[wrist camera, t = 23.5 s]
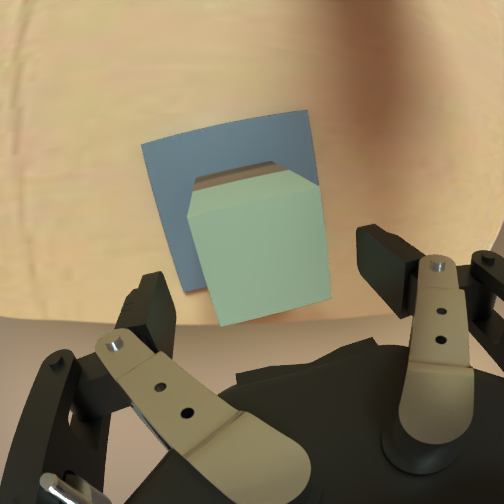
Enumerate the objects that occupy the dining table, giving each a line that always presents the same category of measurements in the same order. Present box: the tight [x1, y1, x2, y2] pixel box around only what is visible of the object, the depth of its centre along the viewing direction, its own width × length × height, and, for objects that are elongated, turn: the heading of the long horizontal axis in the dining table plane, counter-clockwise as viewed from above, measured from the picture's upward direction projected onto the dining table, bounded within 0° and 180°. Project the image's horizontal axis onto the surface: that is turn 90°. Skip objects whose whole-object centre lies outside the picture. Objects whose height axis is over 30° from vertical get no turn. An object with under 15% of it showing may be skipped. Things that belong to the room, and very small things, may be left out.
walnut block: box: [192, 161, 288, 192], centre depth 20 cm, size 6×6×5 cm
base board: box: [141, 110, 319, 292], centre depth 23 cm, size 12×12×1 cm
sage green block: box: [187, 170, 332, 327], centre depth 16 cm, size 6×6×5 cm
